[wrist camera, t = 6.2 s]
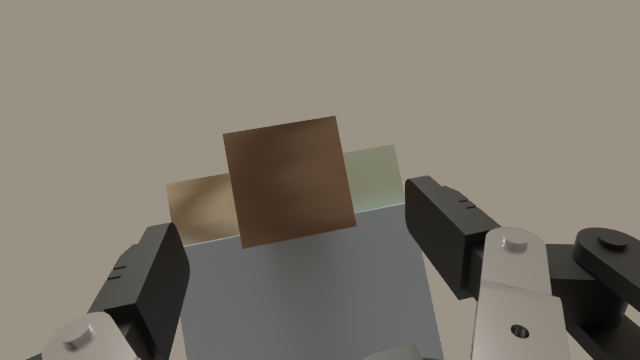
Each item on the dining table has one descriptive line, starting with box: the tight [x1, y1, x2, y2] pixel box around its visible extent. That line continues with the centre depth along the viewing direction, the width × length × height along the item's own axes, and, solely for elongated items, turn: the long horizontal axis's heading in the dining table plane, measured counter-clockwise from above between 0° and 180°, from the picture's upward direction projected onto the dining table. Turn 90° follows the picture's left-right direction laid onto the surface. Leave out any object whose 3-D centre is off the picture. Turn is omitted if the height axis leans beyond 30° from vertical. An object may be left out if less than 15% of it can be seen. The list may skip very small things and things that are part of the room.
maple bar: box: [166, 173, 240, 246], centre depth 26 cm, size 4×11×4 cm, turn 6°
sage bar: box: [343, 145, 405, 213], centre depth 27 cm, size 4×11×4 cm, turn 6°
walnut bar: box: [223, 116, 357, 249], centre depth 22 cm, size 4×22×4 cm, turn 6°
